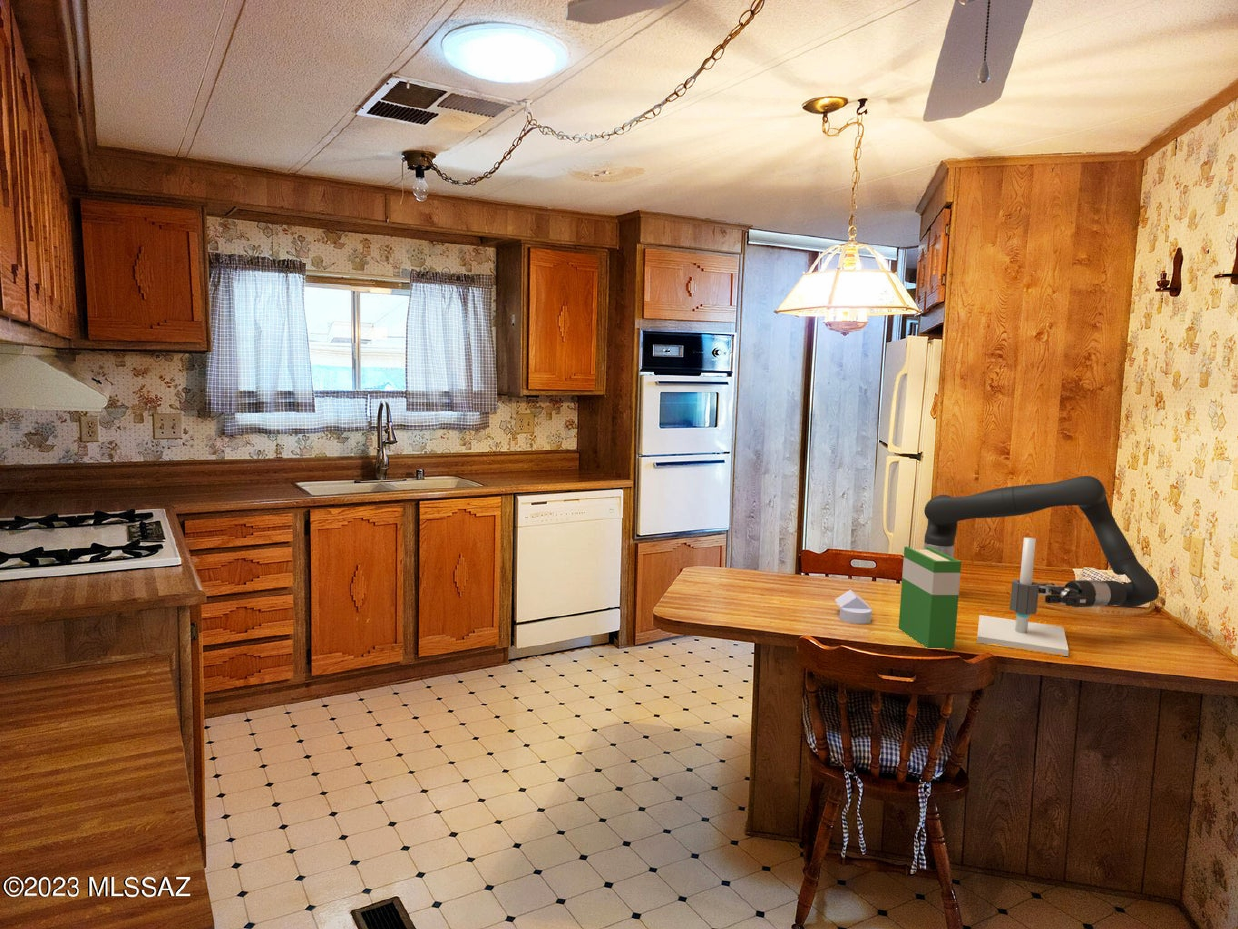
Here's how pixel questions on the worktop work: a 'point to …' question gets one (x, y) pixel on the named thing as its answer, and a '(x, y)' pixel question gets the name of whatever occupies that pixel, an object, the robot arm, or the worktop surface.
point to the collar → (1024, 597)
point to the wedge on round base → (853, 608)
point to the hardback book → (929, 597)
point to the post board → (1022, 639)
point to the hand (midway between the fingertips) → (1035, 594)
